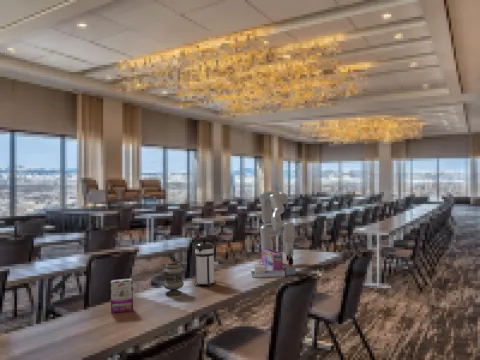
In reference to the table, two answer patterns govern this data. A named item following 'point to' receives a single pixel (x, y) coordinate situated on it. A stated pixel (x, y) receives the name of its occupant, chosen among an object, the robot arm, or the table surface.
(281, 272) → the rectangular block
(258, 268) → the crate
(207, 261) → the coffee press
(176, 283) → the apothecary jar
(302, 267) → the table surface
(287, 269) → the square tube with block
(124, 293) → the candy bar box
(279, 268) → the gum box
